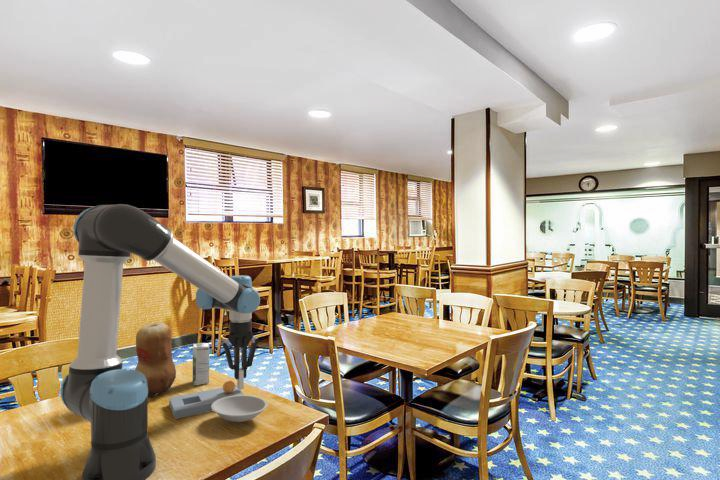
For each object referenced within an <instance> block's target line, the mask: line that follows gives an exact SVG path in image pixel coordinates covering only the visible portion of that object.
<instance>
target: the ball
mask: <svg viewBox="0 0 720 480" xmlns="http://www.w3.org/2000/svg"><path fill="white" fill-rule="evenodd" d="M235 385H236V384H235V383H234V381H233V380H227V381H225V382H224V383H223V385H222V387H223V390H224V392H226V393H231V392H233V391H234V389H235Z"/></svg>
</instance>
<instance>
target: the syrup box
mask: <svg viewBox="0 0 720 480" xmlns="http://www.w3.org/2000/svg"><path fill="white" fill-rule="evenodd" d="M205 383H210V344H209V343H207V342H200V343H193V344H192V386H193V387H195V386H194V385H197V386H200V385H199V384H203V385H206V384H205Z"/></svg>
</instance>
